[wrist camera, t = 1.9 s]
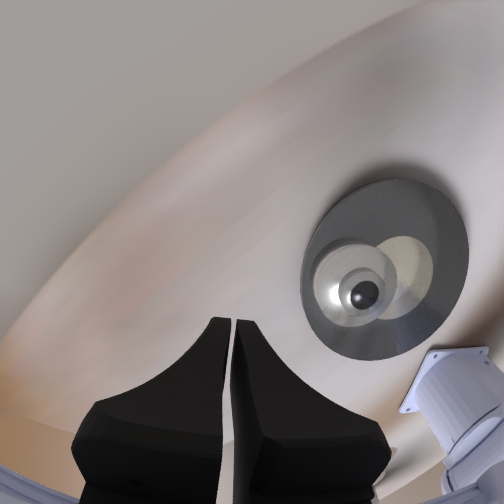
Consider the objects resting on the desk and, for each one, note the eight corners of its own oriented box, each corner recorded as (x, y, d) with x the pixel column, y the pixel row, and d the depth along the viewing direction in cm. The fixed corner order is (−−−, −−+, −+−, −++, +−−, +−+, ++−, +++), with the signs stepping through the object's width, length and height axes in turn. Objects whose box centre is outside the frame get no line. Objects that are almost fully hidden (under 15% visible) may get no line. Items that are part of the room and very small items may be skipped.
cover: (390, 242, 20) (413, 257, 16) (370, 311, 21) (389, 335, 18) (317, 231, 19) (332, 246, 16) (302, 306, 21) (312, 332, 18)
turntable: (473, 199, 20) (485, 202, 19) (427, 348, 25) (435, 358, 23) (317, 159, 19) (323, 160, 18) (281, 346, 23) (284, 358, 22)
